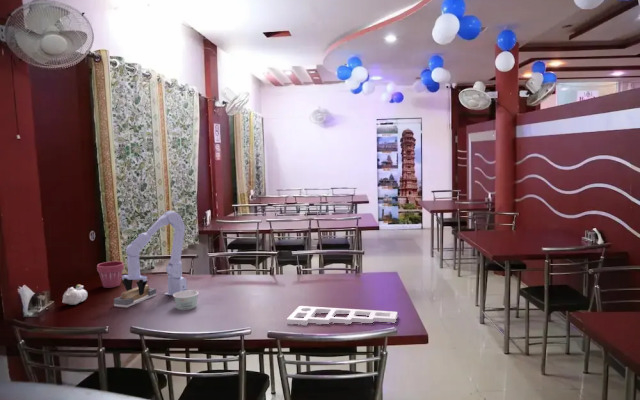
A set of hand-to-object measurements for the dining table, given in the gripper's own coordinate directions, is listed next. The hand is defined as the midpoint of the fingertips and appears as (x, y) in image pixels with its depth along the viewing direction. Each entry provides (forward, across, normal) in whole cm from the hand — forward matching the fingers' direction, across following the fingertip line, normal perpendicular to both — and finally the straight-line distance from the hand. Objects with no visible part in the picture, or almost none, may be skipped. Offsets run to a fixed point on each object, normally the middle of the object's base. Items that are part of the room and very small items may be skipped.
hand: (135, 293), depth 240 cm
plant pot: (+4, -35, +19) cm, 40 cm away
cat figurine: (+4, -27, -13) cm, 30 cm away
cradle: (+3, 0, 0) cm, 3 cm away
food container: (+4, +32, -1) cm, 32 cm away
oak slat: (+2, 0, 0) cm, 2 cm away
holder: (+4, +110, +3) cm, 111 cm away
